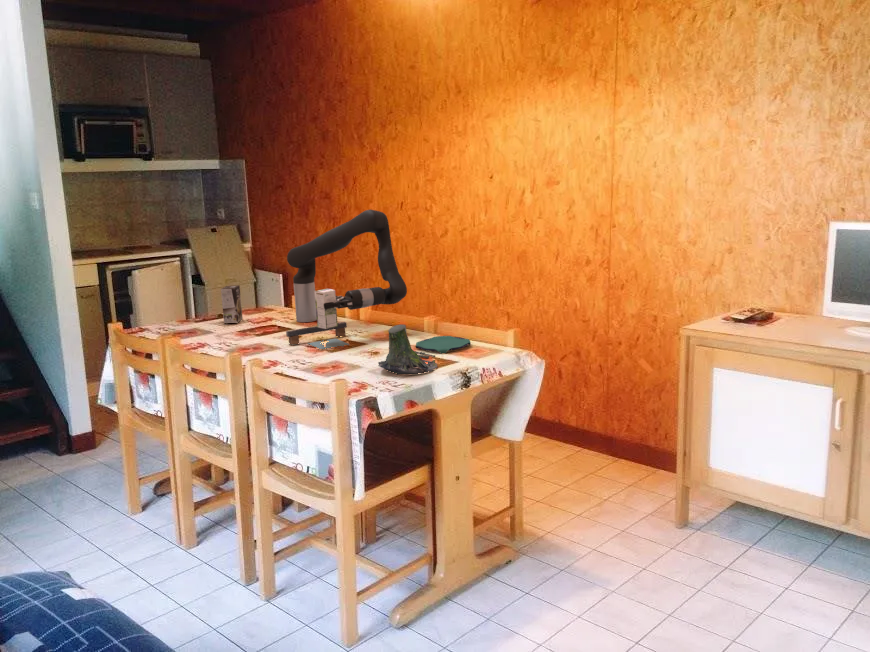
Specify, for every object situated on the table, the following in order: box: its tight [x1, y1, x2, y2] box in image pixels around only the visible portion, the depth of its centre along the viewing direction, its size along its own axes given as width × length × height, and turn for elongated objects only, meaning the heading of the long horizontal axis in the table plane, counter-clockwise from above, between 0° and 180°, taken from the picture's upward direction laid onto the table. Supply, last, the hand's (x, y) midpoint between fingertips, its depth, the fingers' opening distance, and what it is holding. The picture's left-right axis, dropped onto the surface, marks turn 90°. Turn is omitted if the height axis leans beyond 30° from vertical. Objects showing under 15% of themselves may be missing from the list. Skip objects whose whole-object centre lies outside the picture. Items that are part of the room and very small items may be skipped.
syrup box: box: [315, 288, 339, 329], centre depth 288 cm, size 6×6×14 cm
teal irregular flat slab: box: [414, 335, 472, 360], centre depth 278 cm, size 20×30×2 cm, turn 135°
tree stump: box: [377, 324, 438, 375], centre depth 251 cm, size 18×20×18 cm
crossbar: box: [285, 321, 348, 338], centre depth 299 cm, size 2×25×2 cm, turn 122°
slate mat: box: [307, 337, 350, 350], centre depth 291 cm, size 12×12×1 cm
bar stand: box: [288, 328, 347, 345], centre depth 299 cm, size 3×23×4 cm, turn 123°
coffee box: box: [220, 285, 244, 324], centre depth 339 cm, size 9×6×16 cm
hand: (320, 305), depth 287 cm, fingers closed on syrup box, 6 cm apart
